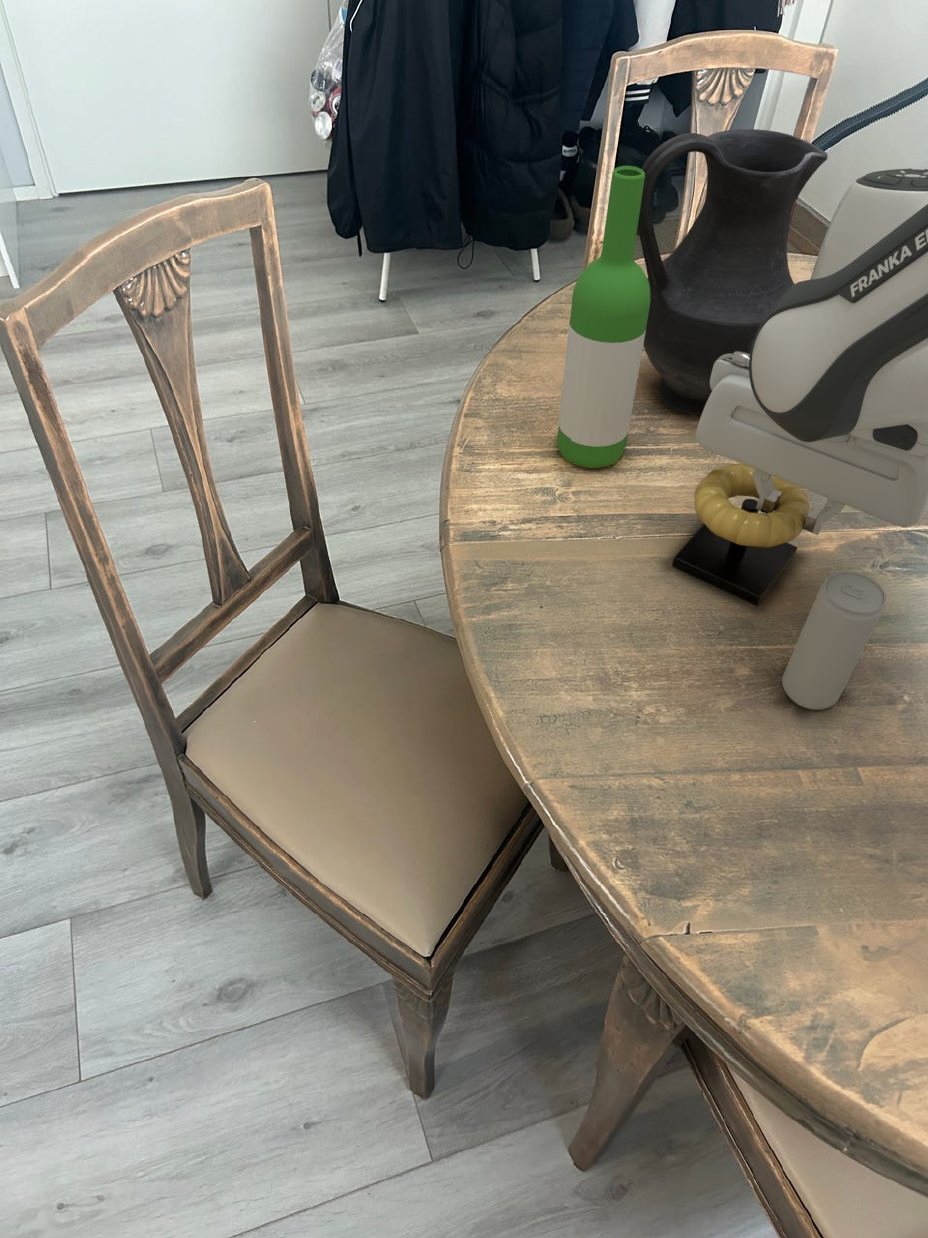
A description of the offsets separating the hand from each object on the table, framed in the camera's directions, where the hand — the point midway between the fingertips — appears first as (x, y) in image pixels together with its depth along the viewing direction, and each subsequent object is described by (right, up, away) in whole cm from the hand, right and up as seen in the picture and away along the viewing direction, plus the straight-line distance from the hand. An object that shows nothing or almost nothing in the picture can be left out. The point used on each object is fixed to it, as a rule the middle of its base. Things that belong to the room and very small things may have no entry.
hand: (789, 519), depth 80 cm
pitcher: (-3, +18, +28) cm, 33 cm away
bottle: (-15, +10, +19) cm, 27 cm away
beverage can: (0, -15, -5) cm, 16 cm away
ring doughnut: (-3, +2, +2) cm, 4 cm away
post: (-3, -3, +7) cm, 8 cm away
